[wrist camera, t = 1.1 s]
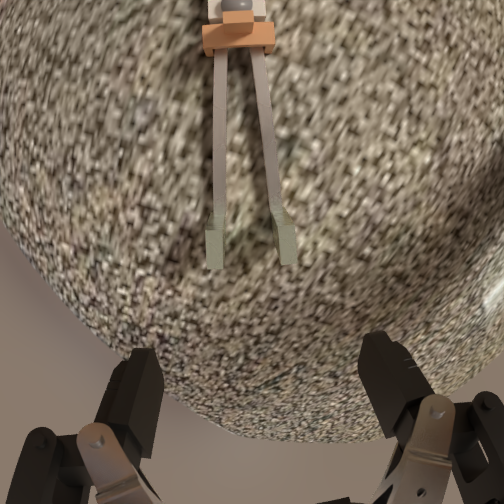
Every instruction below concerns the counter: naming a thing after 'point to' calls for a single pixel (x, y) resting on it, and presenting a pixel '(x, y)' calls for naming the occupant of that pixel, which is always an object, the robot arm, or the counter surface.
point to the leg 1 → (218, 165)
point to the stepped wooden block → (238, 33)
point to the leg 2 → (272, 163)
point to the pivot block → (235, 9)
